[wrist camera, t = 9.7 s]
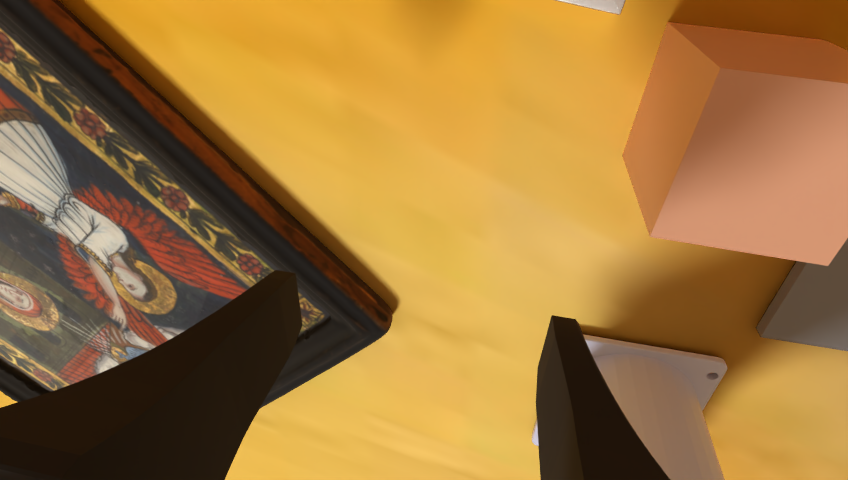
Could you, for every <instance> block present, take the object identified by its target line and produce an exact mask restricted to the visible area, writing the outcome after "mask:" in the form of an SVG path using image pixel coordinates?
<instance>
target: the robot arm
mask: <svg viewBox="0 0 848 480" xmlns="http://www.w3.org/2000/svg"><path fill="white" fill-rule="evenodd" d="M302 325H303V324H302V317H301V309H300V302H299V294H298V287H297V279H296V273H292V272H286V271H280V270H275V271H273V272H272V273H270V274H269V275H267V276H266V277H264V278H263V279H262V280H260V281H259V282H257V283H256V284H255V285H253V286H252V287H250V288H249V289H248V290H246V291H245V292H243V293H242V294H240V295H239V296H238V297H236V298H235V299H233V300H232V301H230V302H229V303H227V304H226V305H224V306H223V307H221V308H220V309H219V310H217V311H216V312H214V313H212V314H211V315H209V316H208V317H206V318H204V319H203V320H201V321H200V322H198V323H196V324H195V325H193V326H192V327H190V328H188V329H187V330H185V331H184V332H182V333H180V334H179V335H177V336H175V337H173V338H171V339H170V340H168V341H166V342H164V343H162V344H160V345H159V346H157V347H155V348H153V349H151V350H149V351H147V352H145V353H143V354H141V355H139V356H137V357H135V358H132V359H130V360H128V361H126V362H124V363H121V364H119V365H117V366H115V367H113V368H110V369H108V370H106V371H104V372H101V373H99V374H97V375H94V376H92V377H89V378H86V379H84V380H81V381H79V382H76V383H74V384H71V385H68V386H65V387H63V388H60V389H57V390H55V391H52V392H49V393H46V394H43V395H40V396H37V397H33V398H30V399H27V400H24V401H21V402H18V403H14V404H11V405H8V406H5V407H2V408H0V480H225V477H226V475H227V473H228V470H229V468H230V466H231V464H232V461H233V459H234V457H235V455H236V453H237V450H238V448H239V446H240V444H241V442H242V439H243V437H244V435H245V434H246V432H247V430H248V428H249V426H250V424H251V422H252V420H253V419H254V417H255V415H256V414H257V412H258V410H259V408H260V407H261V405H262V403H263V402H264V400H265V398H266V397H267V395H268V393H269V391H270V390H271V388H272V386H273V385H274V383H275V381H276V379H277V378H278V376H279V374H280V372H281V371H282V369H283V367H284V365H285V364H286V362H287V360H288V358H289V357H290V354H291V352H292V350H293V347H294V345H295V343H296V340H297V338H298V335H299V333H300V330H301V328H302ZM726 371H727V365H726V363H725V360H723V359H722V358H719V357H714V356H708V355H702V354H696V353H690V352H684V351H678V350H673V349H667V348H661V347H655V346H649V345H643V344H637V343H631V342H625V341H619V340H613V339H607V338H601V337H595V336H590V335H584V334H583V333H582V331H581V329H580V326H579V323H578V322H577V321H576V319H571V318H565V317H558V316H552V317H551V321H550V324H549V328H548V332H547V335H546V339H545V343H544V347H543V350H542V354H541V358H540V361H539V365H538V374H537V393H536V411H537V420H536V423H535V427H534V430H533V433H532V442H533V443H534V444H535V445H537V446H539V459H540V474H541V480H724V477H723V474H722V471H721V468H720V465H719V462H718V459H717V455H716V452H715V449H714V446H713V443H712V440H711V437H710V434H709V431H708V428H707V425H706V422H705V419H704V416H703V413H702V411H703V409H704V408H705V406H706V404H707V403H708V401H709V399H710V398H711V396H712V394H713V393H714V391H715V389H716V388H717V386H718V384H719V383H720V381H721V379H722V378H723V376H724V374H725V373H726ZM709 373H711V374H709Z"/></svg>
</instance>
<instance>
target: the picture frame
mask: <svg viewBox="0 0 848 480" xmlns="http://www.w3.org/2000/svg"><path fill="white" fill-rule="evenodd" d="M555 1H560V2H564V3H569V4H573V5H578V6H582V7H586V8H591V9H595V10H600V11H604V12H609V13H613V14H617V15H620V14H621V11H622V8H623V6H624V3H625V0H555Z"/></svg>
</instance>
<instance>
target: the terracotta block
mask: <svg viewBox="0 0 848 480" xmlns="http://www.w3.org/2000/svg"><path fill="white" fill-rule="evenodd" d="M622 156H623V159H624V162H625V165H626V168H627V171H628V174H629V177H630V179H631V182H632V185H633V188H634V191H635V194H636V197H637V200H638V203H639V206H640V209H641V212H642V215H643V218H644V221H645V224H646V227H647V229H648V232H649V235H650V237H654V238H660V239H666V240H673V241H679V242H685V243H691V244H697V245H703V246H709V247H715V248H721V249H727V250H733V251H739V252H746V253H752V254H758V255H764V256H770V257H776V258H782V259H788V260H794V261H800V262H806V263H812V264H819V265H825V266H828V265H829V264H830V263H831V261H832V260H833V258H834V257H835V255H836V254H837V253H838V251H839V250H840V248H841V247H842V246H843V244H844V243H845V241H846V240H847V238H848V50H846V49H843V48H841V47H839V46H837V45H835V44H832V43H830V42H828V41H826V40H821V39H812V38H804V37H795V36H786V35H777V34H769V33H760V32H751V31H742V30H734V29H725V28H716V27H707V26H698V25H690V24H681V23H672V22H667V25H666V28H665V31H664V34H663V37H662V40H661V43H660V46H659V49H658V52H657V55H656V58H655V61H654V64H653V67H652V70H651V72H650V75H649V78H648V81H647V84H646V87H645V90H644V93H643V96H642V99H641V102H640V105H639V108H638V111H637V114H636V117H635V120H634V123H633V126H632V129H631V132H630V135H629V138H628V141H627V144H626V147H625V150H624V152H623V155H622Z"/></svg>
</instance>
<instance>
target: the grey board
mask: <svg viewBox="0 0 848 480" xmlns="http://www.w3.org/2000/svg"><path fill="white" fill-rule="evenodd" d="M756 329H757V331H758V333H759V335H760V337H764V338H770V339H776V340H782V341H788V342H795V343H801V344H807V345H813V346H819V347H825V348H832V349H838V350H844V351H848V238H847V240H846V241H845V243H844V244H843V246H842V247H841V248H840V250H839V251H838V253H837V254H836V255H835V257H834V258H833V260H832V261H831V263H830V264H829V265H828V266H825V265H819V264H812V263H806V262H800V261H796V263H795V264H794V266H793V268H792V269H791V271H790V273H789V274H788V276H787V278H786V279H785V281H784V283H783V284H782V286H781V287H780V289H779V291H778V292H777V294H776V296H775V297H774V299H773V301H772V302H771V304H770V306H769V307H768V309H767V310H766V312H765V314H764V315H763V317H762V319H761V320H760V322H759V324H758V325H757V327H756Z"/></svg>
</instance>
